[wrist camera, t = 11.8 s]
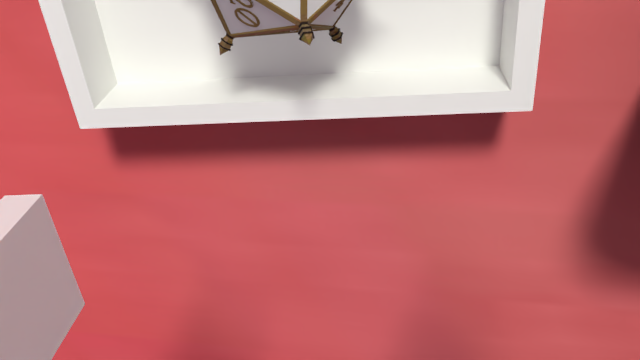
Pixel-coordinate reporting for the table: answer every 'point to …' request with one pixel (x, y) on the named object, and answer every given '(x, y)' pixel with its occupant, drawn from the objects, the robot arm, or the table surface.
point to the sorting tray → (293, 62)
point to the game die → (278, 18)
